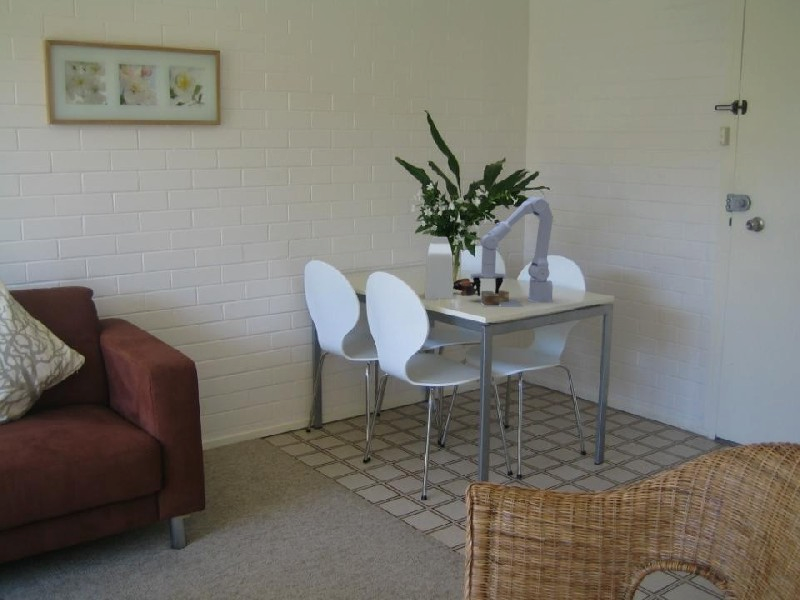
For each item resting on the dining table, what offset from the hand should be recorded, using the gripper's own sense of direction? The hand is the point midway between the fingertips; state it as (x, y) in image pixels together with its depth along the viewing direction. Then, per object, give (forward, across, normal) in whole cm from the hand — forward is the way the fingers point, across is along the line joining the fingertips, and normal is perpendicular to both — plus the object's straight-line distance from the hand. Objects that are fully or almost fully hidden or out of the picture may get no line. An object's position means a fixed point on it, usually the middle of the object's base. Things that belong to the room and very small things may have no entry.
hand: (487, 295), depth 374 cm
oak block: (+2, -7, -2) cm, 7 cm away
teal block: (+2, 0, 0) cm, 2 cm away
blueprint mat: (+3, -4, +4) cm, 7 cm away
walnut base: (+2, 0, +8) cm, 8 cm away
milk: (+3, +19, -12) cm, 23 cm away
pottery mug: (+3, +6, -19) cm, 20 cm away
